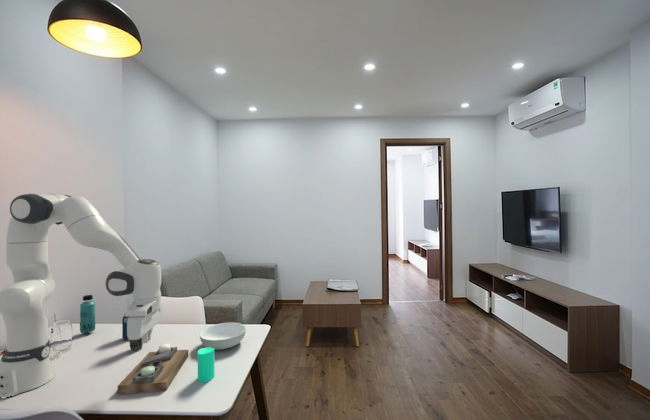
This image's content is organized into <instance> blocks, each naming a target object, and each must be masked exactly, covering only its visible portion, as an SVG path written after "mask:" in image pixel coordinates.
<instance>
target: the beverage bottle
mask: <svg viewBox="0 0 650 420" xmlns="http://www.w3.org/2000/svg"><path fill="white" fill-rule="evenodd" d="M82 297H83V298H82V301H84V302H82V303H81V304H80V305H79V308H80V310H79V332H80V333H81V334H86V333H87V334H88V333H91V332H95V330H96V317H97V316H96V302H95V301H93V299H94V297H93V294H86V295H83V296H82Z"/></svg>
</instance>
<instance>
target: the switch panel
mask: <svg viewBox="0 0 650 420" xmlns="http://www.w3.org/2000/svg"><path fill="white" fill-rule="evenodd" d="M171 352H172V354H171V355H170V356H169V358H168V359H165V360H162V361H159V362H156V363H153V364H150V365H147V366H154V367H155V373H154V374H153V375H150V376H141V369H143V368H144V367H147V366H143V367H141V365H140V364H141V363H142V362H143V361H144V360H145V359H146V358H149V357H152V356H155V355H158V354H160V353H159V348H158V349H157V350H156V351H149V352H148V353H147V354H146V355H145V356H144V357H143V358H142V359H141V361H140V362H139V363H138V364H137V365H136V366H135V367H134V368H133V369H132V370H131V371H130V372H129V373H128V374H127V375H126V376H125V378H123V380H121V382H120V383H119V384H118V385H117V395H127V394H129V395H130V394H140V393H141V394H142V393H151V392H153V393H154V392H161V391H162V392H163V391H167V390H168V388H169V387H170V386H171V384H172V382H173V381H174V379H175V378H176V376H177V374H178V373H179V372H180V370H181V369H182V367H183V365H184V364H185V363H186V361H187V360H188V358H189V349H178V347H177V346H171Z"/></svg>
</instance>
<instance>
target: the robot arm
mask: <svg viewBox="0 0 650 420" xmlns="http://www.w3.org/2000/svg"><path fill="white" fill-rule="evenodd" d="M9 213H10V216H11V217H10V220H9V221H8V222H9V223H8V227H7V231H6V246H5V247H6V248H5V249H6V252H5V253H6V255H5V257H6V266H7V268H9V269H10V271H11V274H12V278H13V283H11V284H8V285H6V286H5V287H4V288H3V289H2V290H1V291H0V314H1V317H2V320H3V323H4V326H5V331H6V334H5V335H6V348H5V349H3V350H2V351H0V356H2V357H1V358H0V397H9V398H11V397H10V396H12V397H15V396H16V395H19V394H21V393H25V392H28V391H32V390H34V389H36V388H39V387H41V386H43V385H45V384H47V383H48V382H50V381H52V380H53V378H54V377H55V373H54V371H53V370H54V369H53V368H52V365H51V360H50V352H51V340H50V339H49V320H48V318H46V315H45V313H44V309H43V302H45V301H46V300H48V299H49V298H50V297H51V296H52V294H53V293H54V292H55V290H56V289H55V288H56V281H55V280H54V278H53V275H52V272H51V267H50V262H49V229H50V227H51V226H52V225H54V224H55V225H58V226H59V225H63V226H64V227H65V228H66V230H67V232H68V234H69V235H70V236H71V238H72V239H73V240H74V241H75V242H76V243H77V244H79V245H80V246H83V247H86V248H93V249H99V250H102V251H106V252H109V253H110V254H111V255H112V256H113V257H115V259H116V260H117V261H118V262H119V263H120V264H121V266H122V268H119V269H116V270H114V271H112V272H110V273H109V274H108V275H107V277H106V279H105V282H104V283H105V285H104V286H105V289H106V291H107V292H108V293H109V294H110V295H112V296H115V297H122V296H127V295H131V296H132V297H133V298H132V301H131V304H130V306H129V307H128V309H127V310H126V313H125V314H126V316H127V317H129V318H128V320H127V337H128V339H129V340H138V339H140V338H142V343H143V344H148V342H150V341H151V340H152V339H151V338H152V333H153V330H154V329H153V328H154V327H155V326H156V325H158V324H159V323H160V322H161V321H162V319H163V315H164V314H163V303H162V291H161V285H162V268H161V264H160V262H158V261H157V260H155V259H148V258H147V259H145V258H140V256H139V255H138V254H137V253H136V252H135V250H134V249H133V248H132V247H131V246H130V245H129V244H128V242H127V241H126V240H125V239H124V238H123V237H122V236H121V235H120V234H119V233H117V232H116V231H115V230H114V229H113V228H112V227H111V226H110V225H109V224H108V223H107V221H106V220H105V219H104V218H103V216H102V214H101V213H100V212H99V211H98V209H96V207H95V206H94V205H93V204H92V203H91V202H90V201H89V200H88V199H87V198H86V197H84V196H81V195H73V196H72V195H67V194H57V193H38V194H36V193H25V194H22V195H17V196H15V198H13V200H12V201H11V203H10V206H9ZM129 340H128V341H129Z"/></svg>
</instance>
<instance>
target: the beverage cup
mask: <svg viewBox="0 0 650 420" xmlns="http://www.w3.org/2000/svg"><path fill="white" fill-rule="evenodd" d="M128 341H129V347H130V348H129V349H130V352H133V353H134V352H136V353H137V352H139V351H141V350H142V349H143V344H144V343H142V338H140V339H138V340H128Z"/></svg>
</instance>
